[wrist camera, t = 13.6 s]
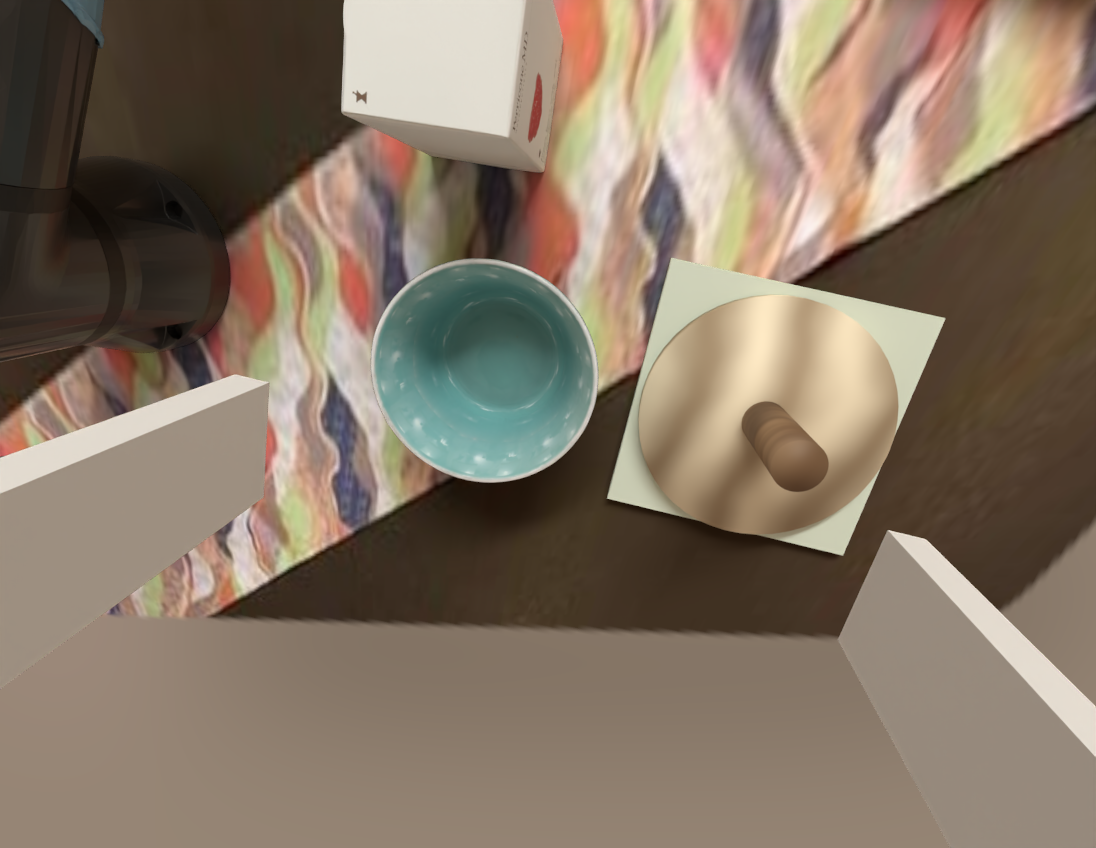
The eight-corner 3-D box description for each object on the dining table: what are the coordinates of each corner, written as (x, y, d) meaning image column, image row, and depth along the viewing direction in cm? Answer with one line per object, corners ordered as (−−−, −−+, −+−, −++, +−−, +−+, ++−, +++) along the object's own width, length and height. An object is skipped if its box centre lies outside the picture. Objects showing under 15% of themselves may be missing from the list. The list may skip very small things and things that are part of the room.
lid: (611, 494, 49) (610, 558, 39) (677, 267, 43) (695, 275, 33) (835, 552, 48) (889, 631, 38) (934, 329, 42) (1029, 355, 32)
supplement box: (546, 176, 43) (509, 146, 28) (428, 157, 43) (335, 117, 29) (567, 34, 40) (538, -78, 25) (440, 15, 40) (343, -105, 26)
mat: (607, 494, 50) (607, 498, 49) (670, 257, 43) (671, 258, 42) (839, 550, 49) (842, 555, 48) (939, 316, 42) (945, 318, 41)
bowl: (642, 347, 46) (647, 370, 38) (516, 480, 50) (497, 525, 43) (491, 209, 44) (463, 203, 36) (374, 361, 49) (328, 385, 41)
